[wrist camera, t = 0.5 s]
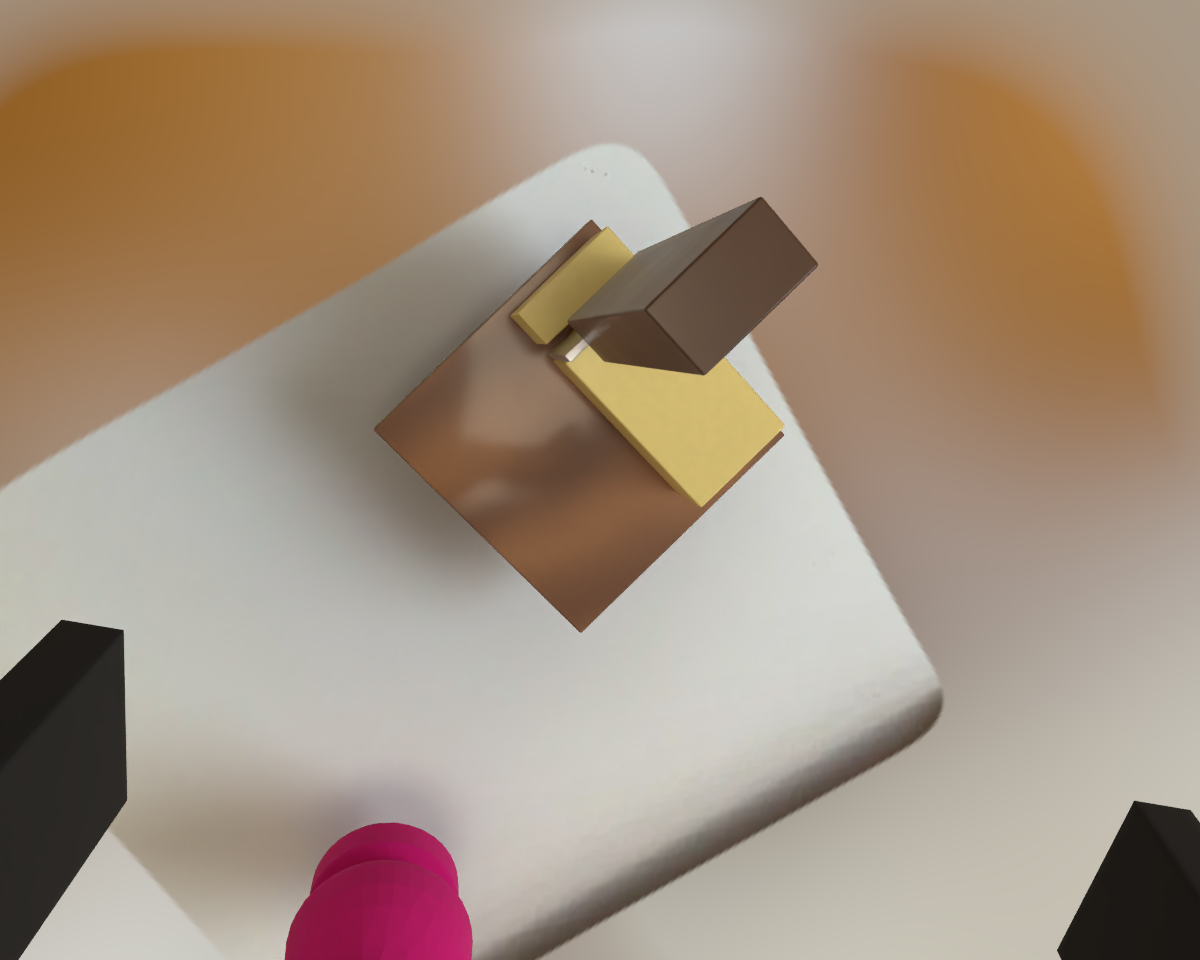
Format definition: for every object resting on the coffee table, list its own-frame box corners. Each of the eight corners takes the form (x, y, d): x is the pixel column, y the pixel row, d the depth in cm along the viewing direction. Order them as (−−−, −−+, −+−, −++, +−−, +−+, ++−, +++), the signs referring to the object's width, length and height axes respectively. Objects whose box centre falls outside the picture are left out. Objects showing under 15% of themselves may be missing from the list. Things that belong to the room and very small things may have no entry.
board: (375, 426, 40) (373, 429, 38) (586, 223, 40) (591, 218, 39) (576, 623, 42) (580, 633, 41) (773, 431, 43) (784, 435, 41)
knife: (533, 338, 36) (613, 338, 19) (627, 248, 36) (791, 166, 19) (567, 374, 36) (675, 405, 19) (660, 284, 36) (849, 236, 19)
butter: (509, 315, 39) (517, 313, 35) (591, 237, 39) (607, 225, 35) (676, 492, 41) (701, 508, 37) (753, 417, 41) (786, 426, 37)
